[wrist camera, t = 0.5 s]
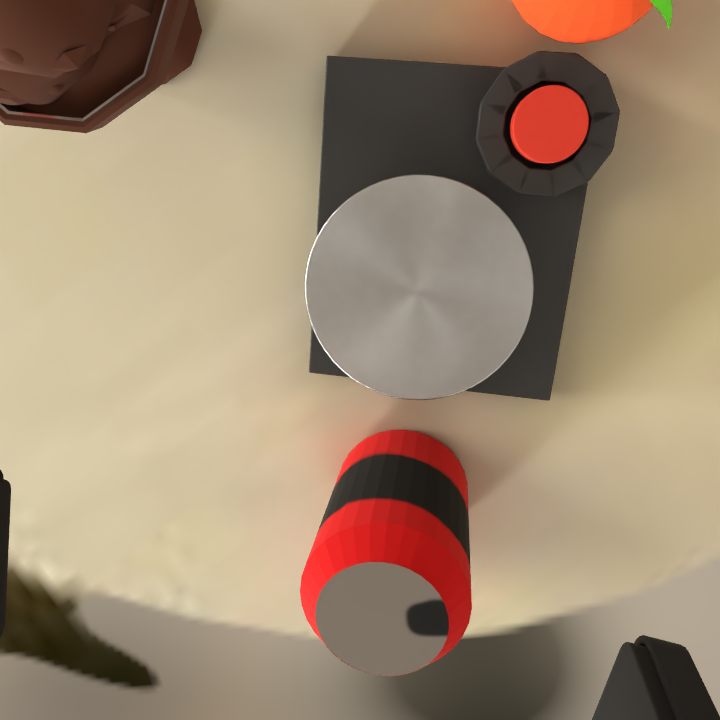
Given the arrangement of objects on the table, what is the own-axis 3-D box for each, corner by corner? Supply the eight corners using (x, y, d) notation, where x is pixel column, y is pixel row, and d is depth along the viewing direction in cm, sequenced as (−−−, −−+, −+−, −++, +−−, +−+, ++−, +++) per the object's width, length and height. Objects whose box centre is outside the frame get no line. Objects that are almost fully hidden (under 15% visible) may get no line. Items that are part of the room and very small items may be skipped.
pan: (314, 164, 32) (310, 165, 31) (549, 184, 30) (551, 184, 30) (302, 382, 35) (299, 386, 34) (514, 407, 34) (515, 412, 33)
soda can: (475, 537, 39) (483, 690, 28) (351, 547, 41) (311, 697, 29) (458, 419, 37) (459, 533, 26) (328, 434, 39) (276, 548, 27)
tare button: (515, 85, 30) (518, 82, 28) (588, 90, 29) (595, 87, 28) (504, 160, 31) (507, 160, 29) (575, 165, 30) (581, 166, 29)
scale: (332, 47, 33) (320, 37, 30) (614, 65, 31) (630, 56, 28) (313, 365, 38) (302, 382, 35) (556, 393, 36) (565, 413, 33)
